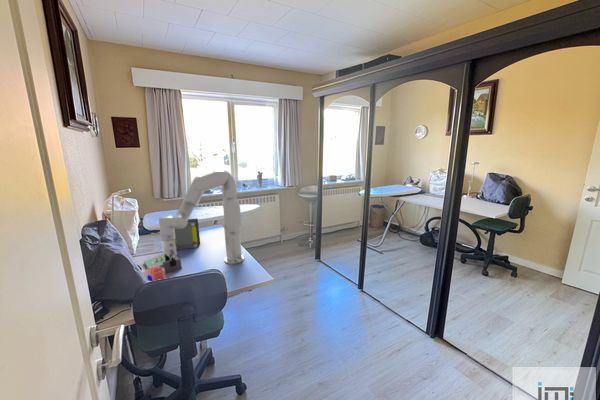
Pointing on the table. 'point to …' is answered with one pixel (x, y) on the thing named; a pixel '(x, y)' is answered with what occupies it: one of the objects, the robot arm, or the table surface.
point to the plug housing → (178, 266)
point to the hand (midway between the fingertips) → (170, 263)
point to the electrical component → (188, 235)
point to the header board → (156, 261)
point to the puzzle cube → (154, 273)
